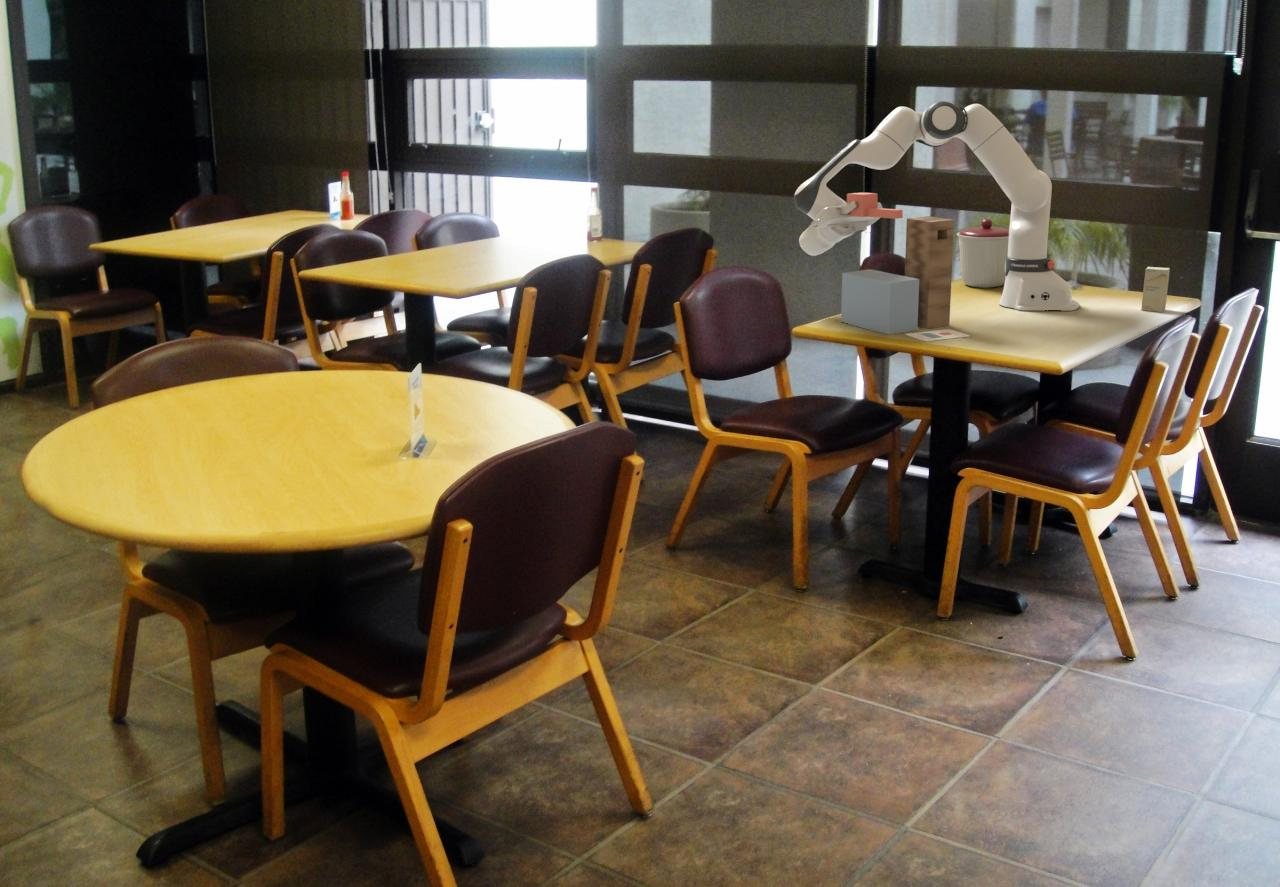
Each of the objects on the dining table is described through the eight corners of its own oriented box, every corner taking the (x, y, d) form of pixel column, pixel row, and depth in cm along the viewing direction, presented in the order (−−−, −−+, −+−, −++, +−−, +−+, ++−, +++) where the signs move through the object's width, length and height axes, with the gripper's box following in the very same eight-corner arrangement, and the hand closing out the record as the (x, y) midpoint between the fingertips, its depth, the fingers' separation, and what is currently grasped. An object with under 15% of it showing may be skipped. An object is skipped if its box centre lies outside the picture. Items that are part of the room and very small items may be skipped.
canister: (1014, 290, 428) (1018, 222, 422) (955, 289, 432) (958, 222, 426) (1011, 280, 445) (1015, 215, 439) (954, 280, 449) (957, 215, 443)
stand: (903, 322, 384) (906, 218, 376) (924, 319, 388) (929, 216, 379) (927, 328, 375) (931, 222, 367) (949, 325, 379) (954, 219, 371)
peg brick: (847, 215, 380) (846, 193, 379) (861, 214, 383) (861, 192, 381) (892, 219, 364) (892, 196, 363) (906, 217, 367) (906, 194, 365)
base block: (841, 322, 386) (842, 272, 382) (868, 318, 391) (870, 269, 387) (888, 334, 369) (890, 282, 365) (917, 330, 374) (919, 279, 370)
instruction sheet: (904, 334, 368) (904, 333, 368) (948, 329, 374) (948, 328, 373) (925, 341, 360) (925, 340, 360) (970, 336, 365) (970, 335, 365)
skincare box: (1140, 310, 394) (1144, 268, 391) (1143, 307, 398) (1146, 266, 395) (1164, 312, 391) (1167, 269, 388) (1166, 309, 395) (1170, 267, 392)
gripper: (804, 216, 384) (832, 194, 372) (862, 210, 394) (890, 190, 382) (811, 236, 383) (838, 216, 371) (868, 231, 393) (897, 210, 381)
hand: (865, 202), depth 376 cm, fingers closed on peg brick, 5 cm apart
